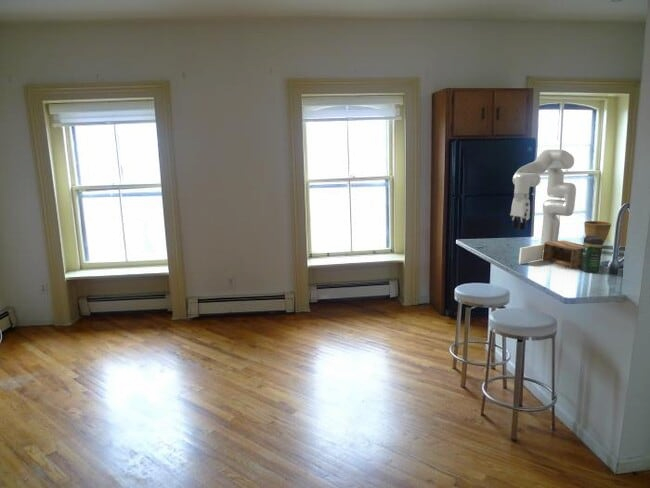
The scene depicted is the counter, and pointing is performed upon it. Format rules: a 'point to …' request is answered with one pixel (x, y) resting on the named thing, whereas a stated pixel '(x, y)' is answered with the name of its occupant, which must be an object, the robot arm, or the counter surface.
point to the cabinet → (563, 253)
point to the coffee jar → (591, 254)
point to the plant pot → (597, 229)
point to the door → (531, 253)
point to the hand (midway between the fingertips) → (518, 228)
